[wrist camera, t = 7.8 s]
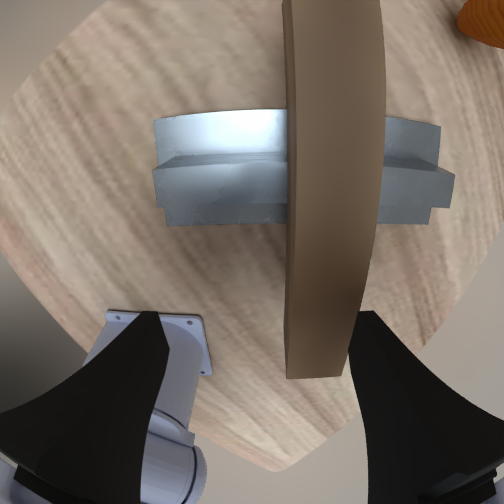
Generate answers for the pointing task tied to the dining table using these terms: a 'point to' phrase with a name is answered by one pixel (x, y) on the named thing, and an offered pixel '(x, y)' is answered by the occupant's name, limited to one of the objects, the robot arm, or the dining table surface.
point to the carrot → (483, 21)
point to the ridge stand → (279, 169)
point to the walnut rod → (330, 174)
